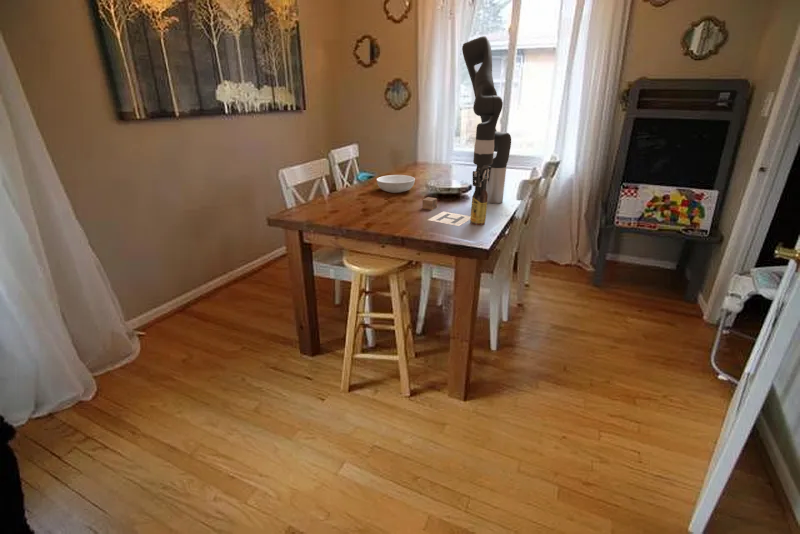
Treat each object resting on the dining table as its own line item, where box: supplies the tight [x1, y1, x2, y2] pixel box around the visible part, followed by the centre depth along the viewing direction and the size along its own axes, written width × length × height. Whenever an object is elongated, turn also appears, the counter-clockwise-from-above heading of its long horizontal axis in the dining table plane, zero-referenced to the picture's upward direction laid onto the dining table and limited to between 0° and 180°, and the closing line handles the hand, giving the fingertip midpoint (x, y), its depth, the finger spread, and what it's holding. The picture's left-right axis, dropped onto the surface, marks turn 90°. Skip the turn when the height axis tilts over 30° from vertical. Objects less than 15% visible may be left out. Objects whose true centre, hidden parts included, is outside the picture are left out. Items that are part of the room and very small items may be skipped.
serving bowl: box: [376, 174, 416, 194], centre depth 219 cm, size 21×21×7 cm
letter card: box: [427, 210, 471, 227], centre depth 173 cm, size 15×15×1 cm
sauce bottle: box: [469, 177, 488, 227], centre depth 163 cm, size 7×6×20 cm
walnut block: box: [421, 196, 438, 211], centre depth 187 cm, size 5×5×5 cm
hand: (480, 194), depth 162 cm, fingers closed on sauce bottle, 5 cm apart
